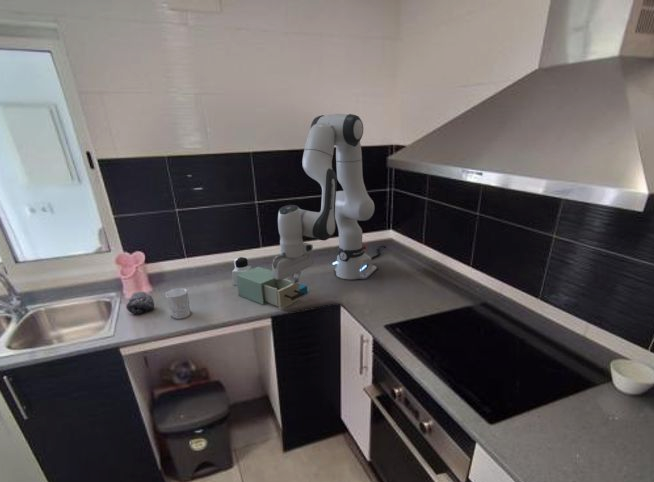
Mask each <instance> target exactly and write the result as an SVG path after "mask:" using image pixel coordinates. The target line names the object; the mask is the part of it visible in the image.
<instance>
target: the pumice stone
mask: <svg viewBox="0 0 654 482" xmlns="http://www.w3.org/2000/svg"><path fill="white" fill-rule="evenodd" d="M155 305H156V304H155V301H154V298H153V297H152V296H151V295H150V294H149V293H146V292H145V291H136V292H133V293H132V294H131V296H130V298H129V300H128V302H127V303H126V306H125V307H126V310H127V311H128V312H129V313H131V314H133V315H142V314H144V313H146V312H149V311H152V310H154V309H155Z"/></svg>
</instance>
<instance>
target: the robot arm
mask: <svg viewBox="0 0 654 482" xmlns="http://www.w3.org/2000/svg"><path fill="white" fill-rule="evenodd" d="M363 135H364V123H363V121H362V119H361V117H360V116H359V115H356V114H352V113H347V114H345V113H334V114H333V113H332V114H326V115H325V114H322V115H318V116H316V117H314V119H313V120H312V121H311V124H310V129H309V133H308V135H307V138H306V142H305V144H304V150H303V155H302V158H301V159H302V161H301V163H302V166H301V167H302V168H303V170H304V172H305V174H306V175H307V176H308V177H309V178H311V179H312V180H314V181H316V182H317V183H318V184H319V185H320V187H321V204H320V205H321V206H320V211H311V210H306V209H302V208H300V207H299V206H298V205H297V204H296V205H295V204H288V205H284V206H282V207H280V208H279V210H278V213H277V229H278V234H279V248H280V254H279V255H278V254H277V255H276V256H274V258H273V260H272V265H271V271H272V276H273V278H274V279H276V280H279V281H280V280H283V279H287V278H289V280H290V281H291V283H292V284H295V283H297V282H299V283H300V276H301V271H304V270H306V269H308V268H311V267H312V266H313V265H314V263H315V256H314V250H313V249H314V246H313V244H312V243H308V242H304V239H303V237H307V238H312V239H316V240H320V241H323V242H325V241H327V240H329V239H330V238H332V236H334V234H335V233H336V227H337V232H338V247H337V254H338V255H337V256H336V261H334V262H332V265H336V267H335V268H334V272H335V275H336V277H338V278H340V279H342V280H350V281H351V280H352V281H353V280H366V279H368V278H369V277H370V276H371V275H372V274H373V273H374V272H375V271H376V270H377V269H378V268H377V266H376V265H375V264H373V259H375V258H377V257H379V256H380V255H381V252H380V251H379V250H380V249H381V248H384V249H386V245H380V246H379V247H378V248H379V249H378V248H377V249H376V252H377V254H376V255H374V256H372V257H371V256H370V255H368V254H367V253H366V252H365V250H367V249H368V245H366V244H363V229H362V227H361V226H360V225H359V223H358V221H361V222H362V221H369V220H370V219H371V218H372V217H373V215H374V213H375V208H376V207H375V203H374V200H373V199H372V198H371V197H370V195H369V193H368V191H367V188H366V184H365V183H364V176H363V175H364V174H363V155H362V154H363V153H362V145H361V140H362V139H363V138H362V137H363ZM335 146H336V147H335ZM334 151H335V163H336V164H335V166H336V172H335V170H334V169H333V157H334ZM337 181H338V183H339V184H340V186H341V188H342V190H338V191H337ZM383 246H384V247H383ZM380 247H381V248H380Z"/></svg>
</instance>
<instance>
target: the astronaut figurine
mask: <svg viewBox="0 0 654 482" xmlns="http://www.w3.org/2000/svg"><path fill="white" fill-rule="evenodd" d="M233 264H234V268H233V270H232V271H231V274H232V281H233V286H238V283H237V277H236V275H238V274H240V273H243V272H246V271H248V270H251V269H253V268H252V266H251V265H249V263H248V258H246V257H243V256H239V257H236V258H234V259H233Z"/></svg>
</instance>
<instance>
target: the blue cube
mask: <svg viewBox="0 0 654 482" xmlns="http://www.w3.org/2000/svg"><path fill="white" fill-rule="evenodd" d="M299 291H300V292H302V291H303V292H304V295H302V296H301V297H303V296H305V295H307V294H308V286H307V285H305V284H303V283H299Z"/></svg>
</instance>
